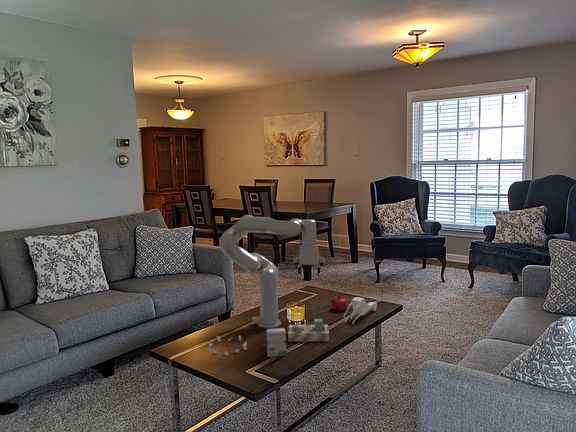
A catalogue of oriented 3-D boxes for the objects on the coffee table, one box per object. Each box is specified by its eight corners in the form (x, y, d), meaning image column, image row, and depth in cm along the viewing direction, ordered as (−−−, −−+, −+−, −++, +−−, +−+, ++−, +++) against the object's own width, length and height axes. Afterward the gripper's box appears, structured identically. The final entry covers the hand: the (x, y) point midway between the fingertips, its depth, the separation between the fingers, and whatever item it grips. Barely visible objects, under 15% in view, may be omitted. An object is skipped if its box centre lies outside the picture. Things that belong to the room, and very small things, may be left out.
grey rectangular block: (314, 337, 230) (314, 321, 229) (314, 334, 234) (314, 318, 233) (322, 336, 230) (322, 321, 229) (322, 333, 234) (322, 318, 233)
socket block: (288, 341, 226) (288, 333, 226) (289, 332, 238) (288, 324, 237) (329, 341, 225) (329, 332, 225) (327, 332, 237) (327, 324, 237)
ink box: (285, 351, 214) (284, 327, 213) (286, 356, 209) (285, 331, 208) (267, 352, 213) (266, 328, 212) (267, 357, 208) (266, 332, 207)
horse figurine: (357, 339, 251) (380, 309, 269) (350, 313, 244) (374, 283, 262) (349, 337, 255) (372, 307, 273) (341, 311, 248) (366, 282, 266)
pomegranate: (351, 309, 273) (351, 293, 272) (341, 313, 266) (340, 297, 265) (337, 305, 280) (337, 290, 279) (327, 309, 273) (327, 294, 271)
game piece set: (203, 343, 227) (203, 336, 226) (242, 337, 234) (242, 330, 233) (211, 359, 209) (210, 351, 208) (253, 352, 215) (253, 344, 215)
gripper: (292, 244, 240) (292, 276, 242) (325, 244, 239) (325, 276, 241) (293, 241, 247) (293, 272, 249) (325, 241, 246) (325, 272, 248)
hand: (309, 274), depth 245 cm, fingers open, 9 cm apart
